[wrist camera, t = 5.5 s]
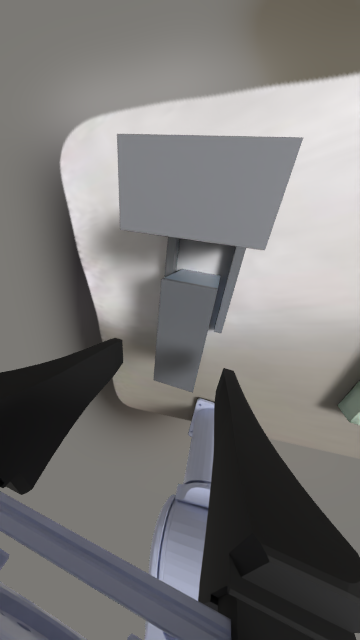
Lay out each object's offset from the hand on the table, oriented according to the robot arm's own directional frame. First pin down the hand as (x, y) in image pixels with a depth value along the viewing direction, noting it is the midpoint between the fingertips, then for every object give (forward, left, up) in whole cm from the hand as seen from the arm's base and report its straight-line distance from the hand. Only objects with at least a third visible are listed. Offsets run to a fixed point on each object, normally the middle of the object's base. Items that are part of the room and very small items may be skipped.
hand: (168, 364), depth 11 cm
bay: (+5, 0, -9) cm, 10 cm away
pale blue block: (0, 0, -9) cm, 9 cm away
